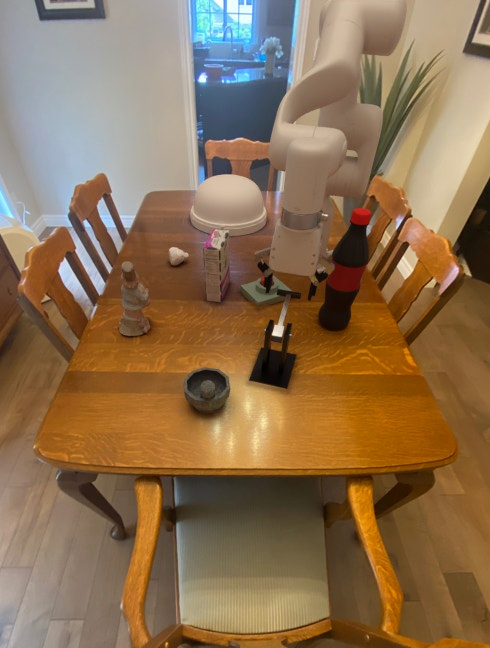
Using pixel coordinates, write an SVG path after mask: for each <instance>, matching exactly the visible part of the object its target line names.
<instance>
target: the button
mask: <svg viewBox="0 0 490 648" xmlns="http://www.w3.org/2000/svg"><path fill="white" fill-rule="evenodd" d="M260 278H261V285H262V286H264V276H263V275H262V276H261V277H260ZM273 281H274V279H273V277H272V286H273Z"/></svg>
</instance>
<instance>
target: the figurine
mask: <svg viewBox="0 0 490 648" xmlns="http://www.w3.org/2000/svg"><path fill="white" fill-rule="evenodd" d="M120 267H121V268H120V269H121V275H120V276H119V278H120V282H121V284H122V285H121V286H120V287H121V288H120V294H121V300H120V301H121V306H122V309H124V310H123V312H122V315H121V316H120V321H119V322H118V326H119V332H120V334H121V335H123V336H126V337H136V336H141V335H144V334H146V333H148V332H149V330H150V329H151V325H150V322H149V319H148V318H147V317H146V316H144V314H143V312H142V311H143V309H144V308H147V307H149V306H150V305H151V303H152V300H151V298H150V295H149V294H150V290H149V288H147V287H146V286H145V285H144V284H143V283H141V282H140V281H139V280H140V276H139V274H138V273H137V271H136V269H135V266H134V264H133V263H132V262H131V261H128V260H126V261H123V262H122V263H121V266H120Z"/></svg>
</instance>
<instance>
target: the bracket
mask: <svg viewBox="0 0 490 648" xmlns="http://www.w3.org/2000/svg"><path fill="white" fill-rule="evenodd" d="M274 325H275V320H274V319H269V320H268V323H267V326H266V327H265V328H264V331H263V335H264V341H263V346H261V347H260V349H259V352H258V354H257V358H256V360H255V362H254V365H253V367H252V371H251V374H250V376H249V379H248V381H250V382H254V383H258V384H263V385H268V386H271V387H276V388H281V389H285V390H288V389H289V388H288V387H289V384H290V380H291V377H292V373H293V369H294V366H295V362H296V359H297V355H298V354H297V353H292V352H288V351H289V345H290V341H291V340H292V337H293V332H292V327H293V323H292V322H287V323H286V326H285V329H284V335H283V339H282V343H281V350H278V349H272V342H273V341H272V332H273V329H274Z"/></svg>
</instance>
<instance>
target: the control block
mask: <svg viewBox="0 0 490 648" xmlns="http://www.w3.org/2000/svg"><path fill="white" fill-rule="evenodd" d="M261 278H262V277H258V278H257V279H256V280H255V281H251V282H248V283H245V284H241V285H240V290H239V292H240V293H241V294H242V296H244V297H245V298H246V299H247V300H248V301H249V302H252V303H254V304H255V305H256V306H257V307H260V306H263V305H268V306H271V305H274V304H277V303H278V304H279V303H280V302H284V301H285V297H284V296H278V295H277V290H278V289H282V290H288V291H293V290H292V289H291V288H290V287H288V285H286V284H285V283H284V282H282V281H281V280H280V279H279V278H278V277H277V276H276V275H273V279H274V281H273V286H271V289H270V291H269V293H266V288H265V287H264V286H262V285H261Z"/></svg>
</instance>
